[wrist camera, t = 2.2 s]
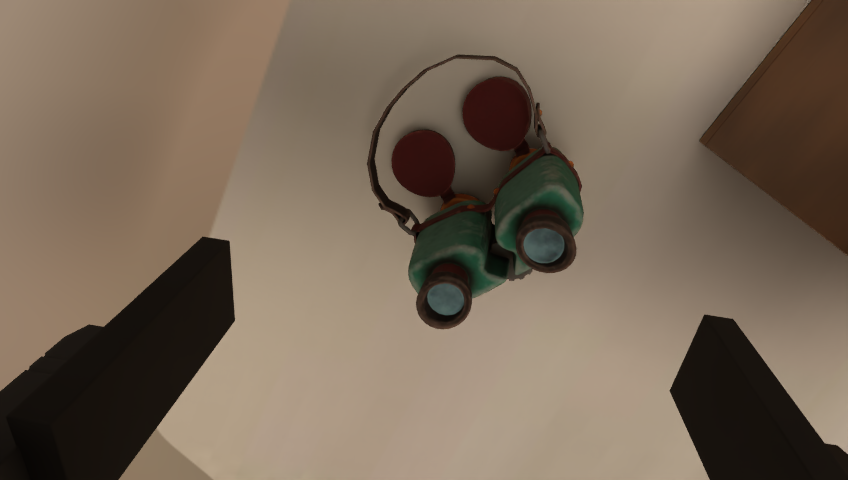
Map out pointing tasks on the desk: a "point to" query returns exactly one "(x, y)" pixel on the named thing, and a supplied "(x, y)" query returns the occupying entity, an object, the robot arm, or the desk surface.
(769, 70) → the chest
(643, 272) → the desk surface
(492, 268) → the binoculars
